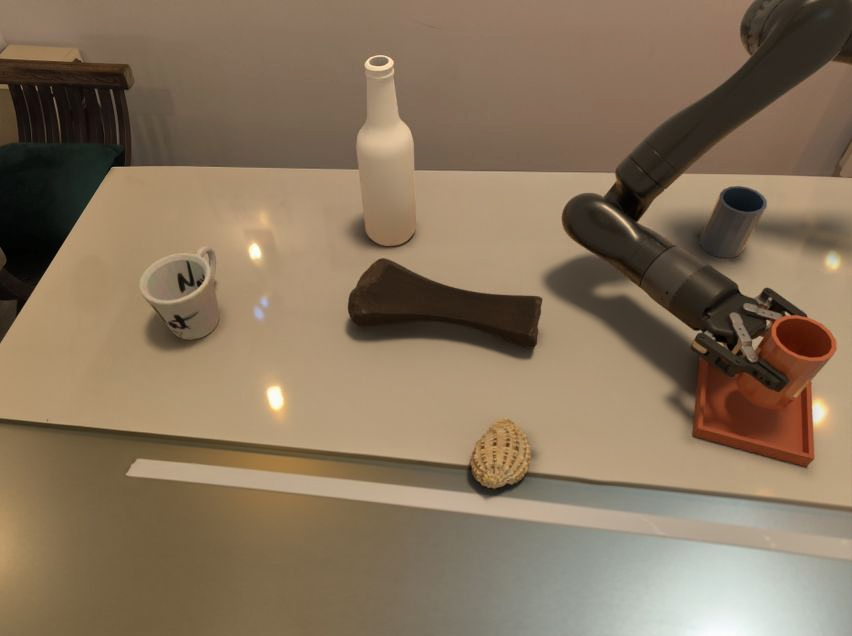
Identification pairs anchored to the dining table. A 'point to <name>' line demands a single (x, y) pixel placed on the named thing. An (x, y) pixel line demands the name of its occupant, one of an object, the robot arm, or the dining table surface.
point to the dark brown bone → (440, 304)
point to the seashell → (501, 455)
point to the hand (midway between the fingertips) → (804, 371)
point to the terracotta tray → (752, 419)
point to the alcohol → (386, 160)
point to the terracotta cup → (789, 359)
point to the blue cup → (732, 221)
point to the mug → (183, 292)
